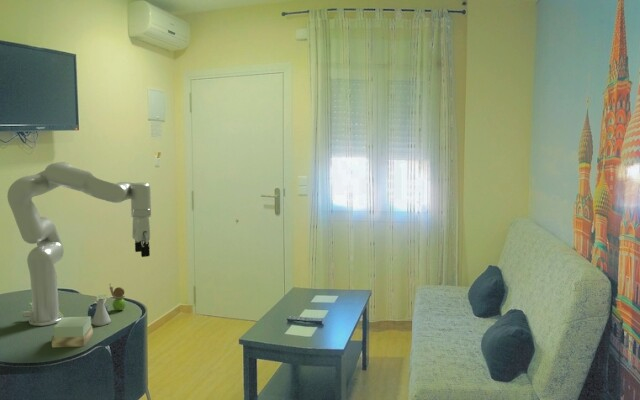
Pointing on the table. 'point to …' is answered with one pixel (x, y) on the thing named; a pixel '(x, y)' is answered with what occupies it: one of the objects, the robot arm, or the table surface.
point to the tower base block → (72, 340)
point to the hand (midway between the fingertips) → (142, 253)
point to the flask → (100, 314)
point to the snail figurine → (118, 298)
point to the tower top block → (72, 327)
